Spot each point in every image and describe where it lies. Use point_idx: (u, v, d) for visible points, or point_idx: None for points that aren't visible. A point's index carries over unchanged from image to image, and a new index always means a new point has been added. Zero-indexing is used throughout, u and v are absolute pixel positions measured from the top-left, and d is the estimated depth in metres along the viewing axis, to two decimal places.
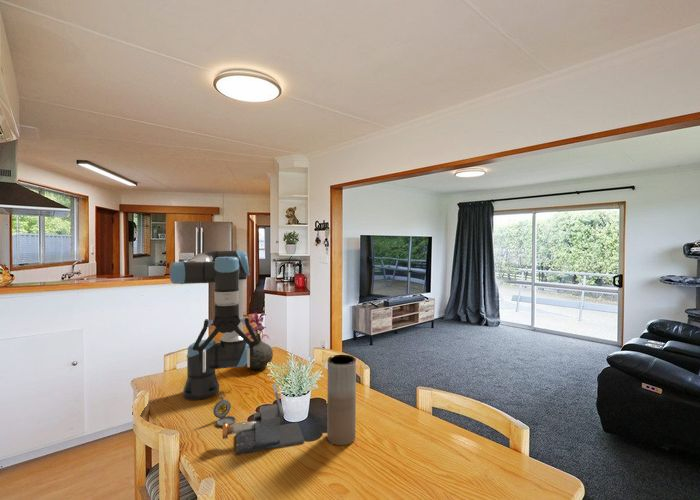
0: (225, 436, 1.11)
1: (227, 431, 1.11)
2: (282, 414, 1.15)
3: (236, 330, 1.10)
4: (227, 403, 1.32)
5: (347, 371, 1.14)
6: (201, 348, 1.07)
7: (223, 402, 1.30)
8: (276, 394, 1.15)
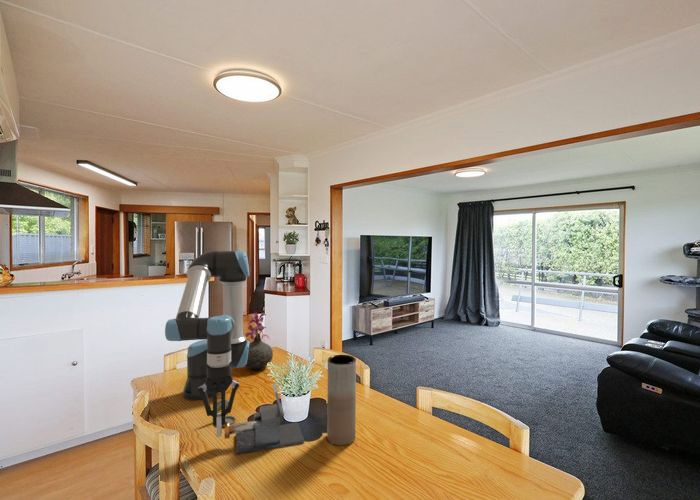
0: (227, 436, 1.11)
1: (229, 431, 1.12)
2: (282, 414, 1.15)
3: (222, 393, 1.11)
4: (227, 403, 1.32)
5: (347, 371, 1.14)
6: (214, 414, 1.11)
7: None
8: (276, 394, 1.15)
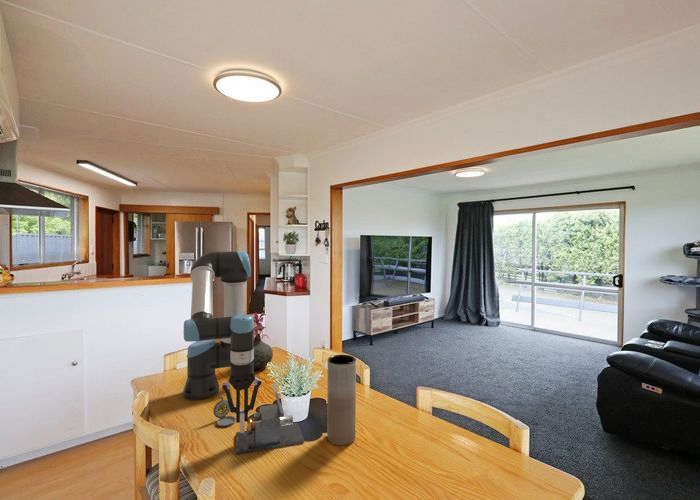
0: (250, 432, 1.13)
1: (252, 427, 1.14)
2: (282, 414, 1.15)
3: (245, 390, 1.13)
4: (227, 403, 1.32)
5: (347, 371, 1.14)
6: (237, 410, 1.13)
7: (223, 402, 1.30)
8: (276, 394, 1.15)
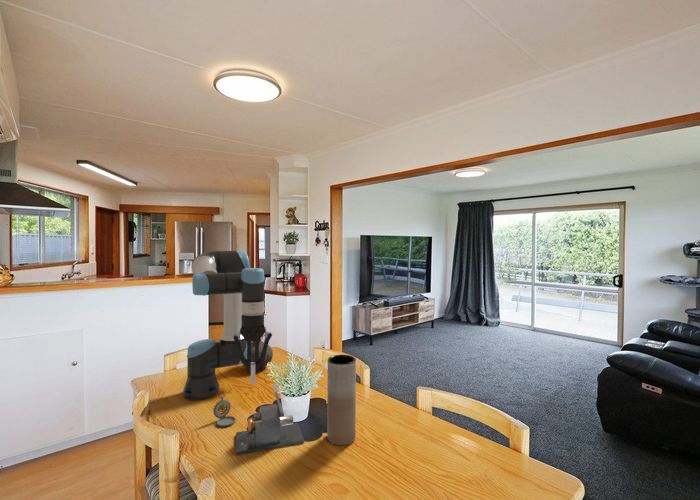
0: (250, 432, 1.13)
1: (252, 427, 1.14)
2: (282, 414, 1.15)
3: (256, 341, 1.14)
4: (227, 403, 1.32)
5: (347, 371, 1.14)
6: (248, 361, 1.14)
7: (223, 402, 1.30)
8: (276, 394, 1.15)
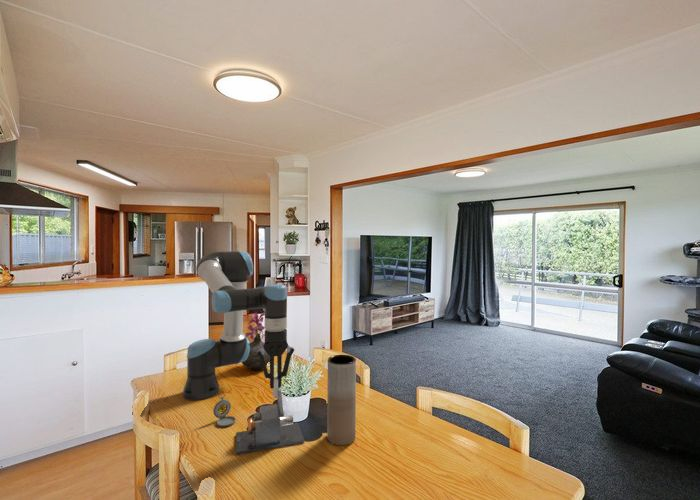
0: (250, 432, 1.13)
1: (252, 427, 1.14)
2: (282, 414, 1.15)
3: (279, 356, 1.17)
4: (227, 403, 1.32)
5: (347, 371, 1.14)
6: (271, 376, 1.16)
7: (223, 402, 1.30)
8: (280, 393, 1.15)
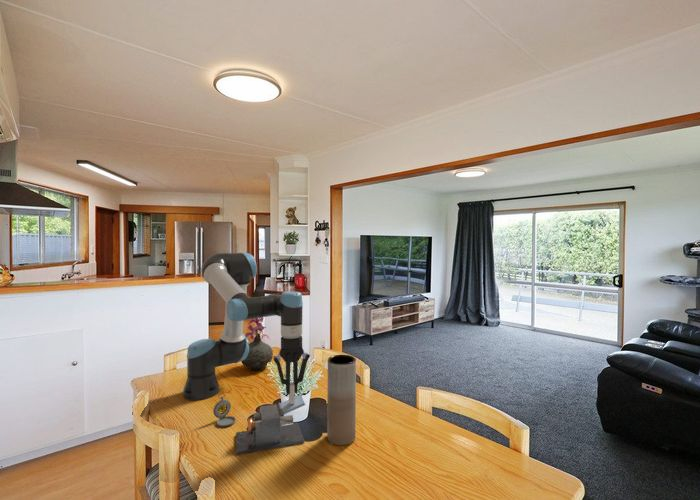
0: (250, 432, 1.13)
1: (252, 427, 1.14)
2: (282, 415, 1.15)
3: (295, 362, 1.18)
4: (227, 403, 1.32)
5: (347, 371, 1.14)
6: (288, 382, 1.18)
7: (223, 402, 1.30)
8: (302, 405, 1.18)
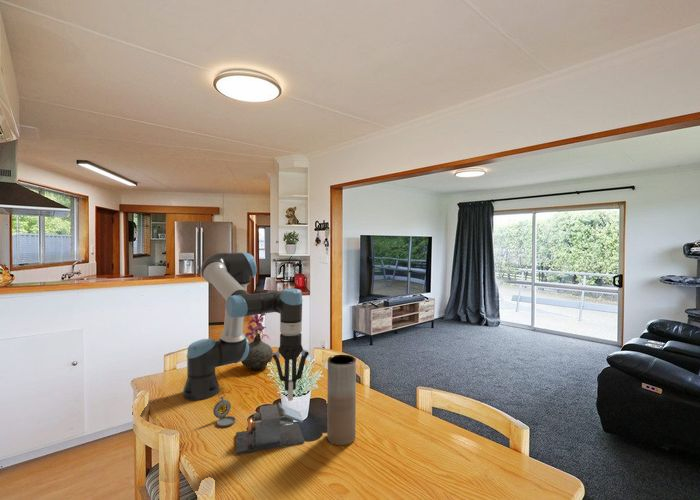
0: (250, 432, 1.13)
1: (252, 427, 1.14)
2: (282, 415, 1.15)
3: (294, 360, 1.19)
4: (227, 403, 1.32)
5: (347, 371, 1.14)
6: (286, 379, 1.18)
7: (223, 402, 1.30)
8: (300, 421, 1.17)
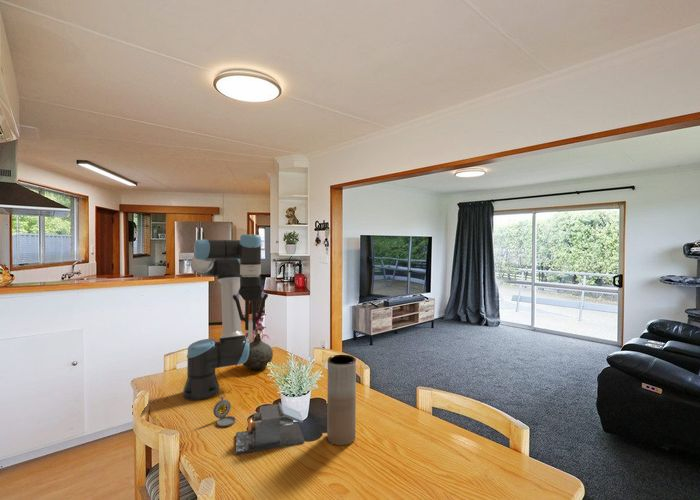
0: (250, 432, 1.13)
1: (252, 427, 1.14)
2: (282, 415, 1.15)
3: (253, 300, 1.25)
4: (227, 403, 1.32)
5: (347, 371, 1.14)
6: (246, 319, 1.25)
7: (223, 402, 1.30)
8: (300, 421, 1.17)
